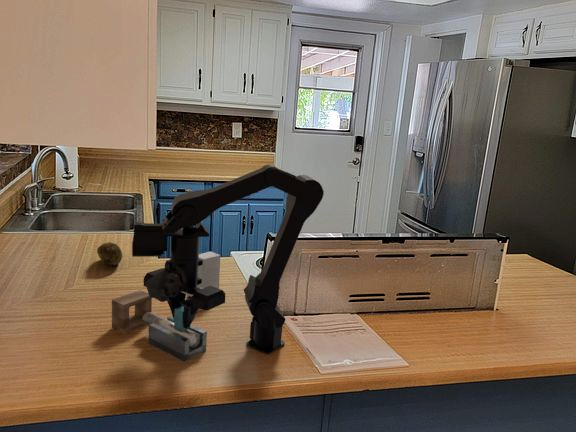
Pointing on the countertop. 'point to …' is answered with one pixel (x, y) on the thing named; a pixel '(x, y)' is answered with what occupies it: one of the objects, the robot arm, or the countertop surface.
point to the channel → (176, 341)
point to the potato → (110, 253)
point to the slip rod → (173, 325)
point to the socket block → (121, 310)
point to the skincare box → (209, 270)
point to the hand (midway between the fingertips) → (182, 325)
